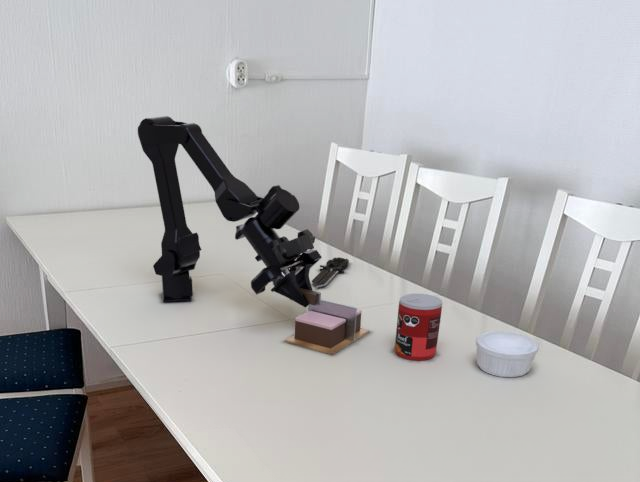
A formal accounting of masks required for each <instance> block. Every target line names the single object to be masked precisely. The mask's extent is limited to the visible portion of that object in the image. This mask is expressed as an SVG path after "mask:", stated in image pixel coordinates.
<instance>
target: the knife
mask: <svg viewBox="0 0 640 482" xmlns="http://www.w3.org/2000/svg"><path fill="white" fill-rule="evenodd" d="M349 263H350V260H349V259H348V258H344V257H332V259H328V260H327V261H326V264H325V265H321V264H320V265H319V271H320V272H319V273H317V275H316V276H315V277H314V278H313V279H312V280H311V283H312V284H313V285H314V286H315V288H321V287H325V286H327V285H328V284H329V283H330V282H331V280H333V278H334V277H335V276H336V275H337V274H338V275H339V274H345V270H346V269H347V268H348V266H349V265H348V264H349Z"/></svg>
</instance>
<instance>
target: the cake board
mask: <svg viewBox="0 0 640 482" xmlns="http://www.w3.org/2000/svg"><path fill="white" fill-rule="evenodd" d="M369 333H370V330H369V329H366V328H362V327H360V331H359V332H357V333H355V341H351V340H347V339H345V340H344V341H342V342H341V343H339V344H337V345H336V346H334V347H332V348H331V349H330V348H327V347H323V346H319V345H315V344H312V343H308V342H304V341H301V340H297V339H295V334H293V335H291V336H289V337H287V338H286V339H284V343H286V344H287V343H288V344H291V345H295V346H298V347H302V348H305V349H309V350H313V351H316V352H320V353H324V354H328V355H331V356H333V355H335V354H337V353H338V352H340V351H341V350H343V349H344V348H346V347H348V346H349V345H351V344H352V343H355V342H356V341H358V340H359V339H361V338H362V337H364V336H366V335H367V334H369Z"/></svg>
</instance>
